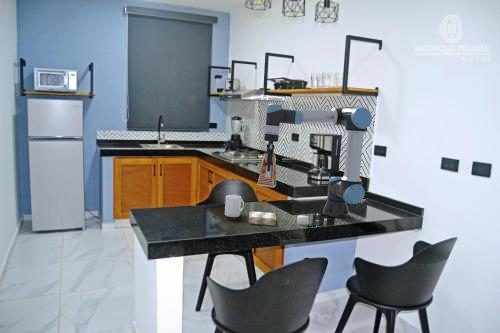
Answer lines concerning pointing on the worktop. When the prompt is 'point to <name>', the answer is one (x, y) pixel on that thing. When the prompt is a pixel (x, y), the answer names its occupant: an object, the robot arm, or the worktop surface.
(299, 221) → the white block
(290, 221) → the worktop surface
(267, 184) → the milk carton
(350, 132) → the robot arm
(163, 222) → the worktop surface
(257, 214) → the podium
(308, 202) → the worktop surface
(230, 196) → the mug
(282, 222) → the worktop surface
